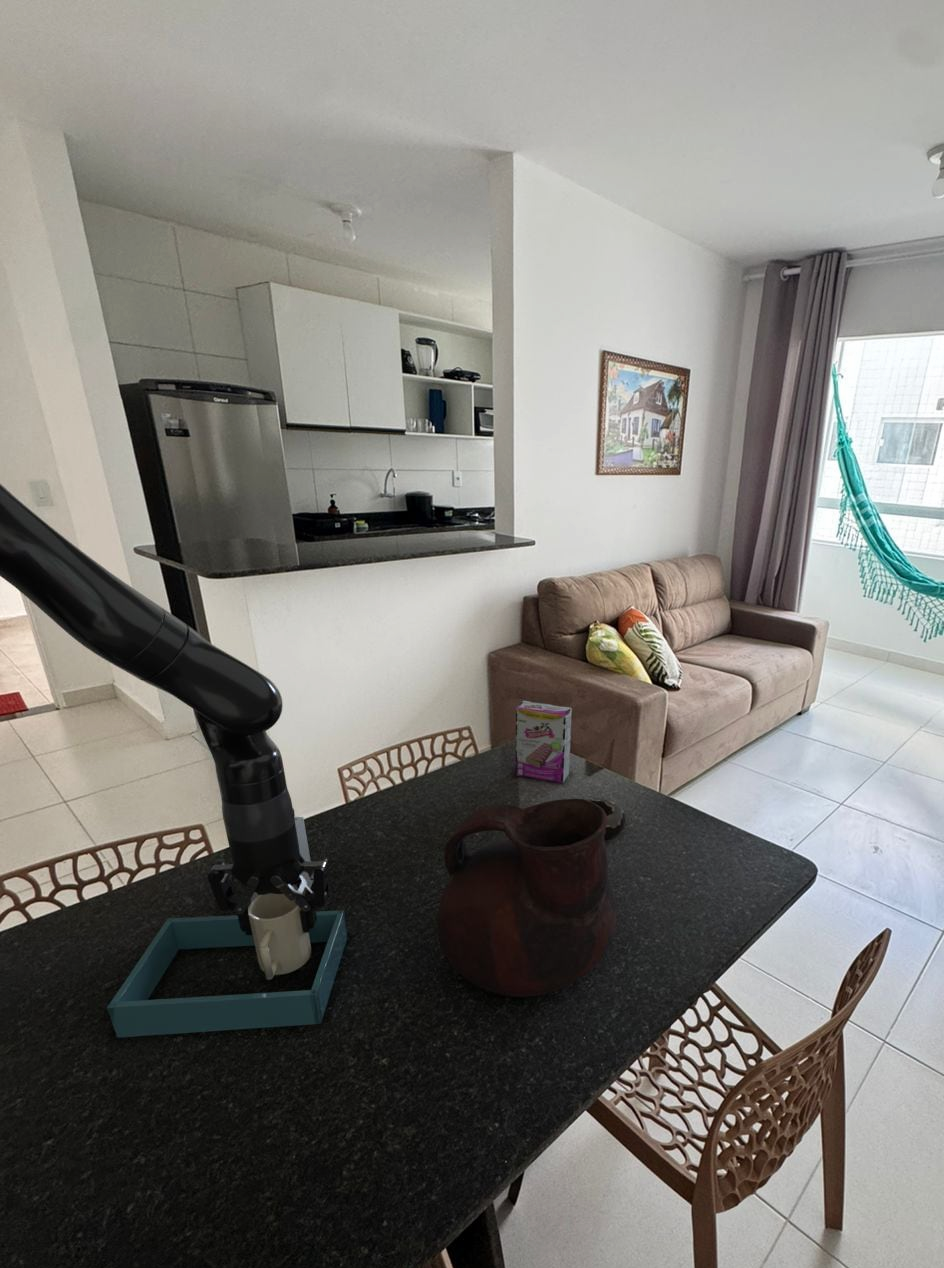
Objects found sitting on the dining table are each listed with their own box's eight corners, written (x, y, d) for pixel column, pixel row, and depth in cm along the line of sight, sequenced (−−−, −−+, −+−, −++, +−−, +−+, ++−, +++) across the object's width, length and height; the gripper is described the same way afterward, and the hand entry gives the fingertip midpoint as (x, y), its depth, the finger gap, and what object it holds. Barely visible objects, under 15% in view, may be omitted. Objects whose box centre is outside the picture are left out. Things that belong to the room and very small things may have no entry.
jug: (502, 881, 111) (501, 748, 101) (640, 932, 101) (653, 791, 91) (400, 981, 90) (385, 826, 80) (560, 1057, 81) (566, 892, 71)
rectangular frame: (117, 1037, 80) (106, 1007, 78) (175, 945, 94) (167, 918, 92) (320, 1024, 83) (316, 994, 81) (347, 937, 98) (344, 910, 96)
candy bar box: (514, 777, 144) (514, 708, 138) (522, 766, 149) (522, 699, 142) (563, 785, 142) (565, 715, 135) (570, 774, 147) (572, 706, 140)
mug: (268, 941, 92) (257, 889, 88) (316, 939, 92) (308, 886, 89) (244, 993, 83) (231, 937, 80) (297, 990, 84) (287, 935, 80)
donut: (554, 818, 130) (554, 801, 128) (606, 806, 135) (608, 789, 133) (581, 850, 120) (581, 831, 119) (636, 835, 126) (637, 817, 124)
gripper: (183, 842, 76) (211, 953, 83) (314, 837, 78) (330, 947, 85) (209, 807, 83) (233, 913, 90) (329, 804, 85) (343, 908, 92)
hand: (280, 929), depth 87 cm, fingers closed on mug, 6 cm apart
